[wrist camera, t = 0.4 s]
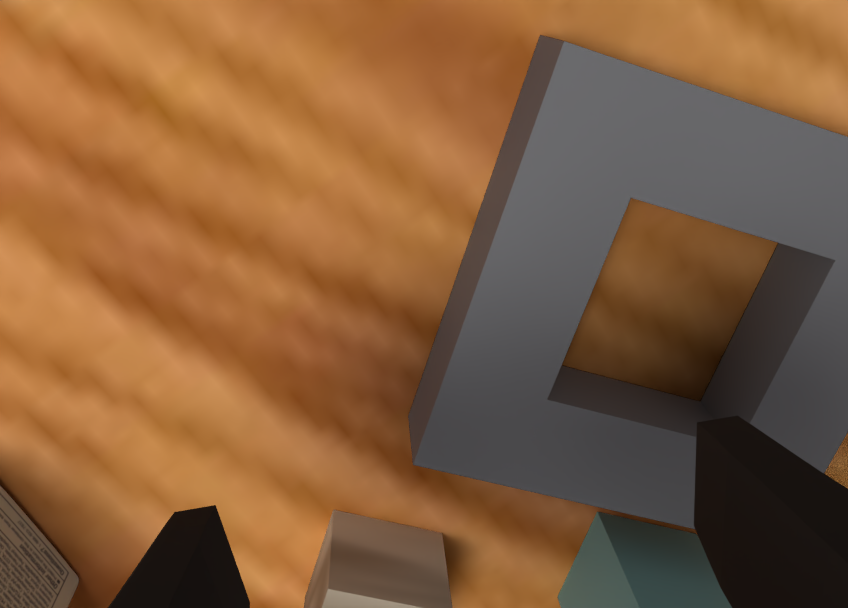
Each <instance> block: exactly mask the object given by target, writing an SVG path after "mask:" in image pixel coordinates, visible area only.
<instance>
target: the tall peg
mask: <svg viewBox="0 0 848 608" xmlns="http://www.w3.org/2000/svg"><path fill="white" fill-rule="evenodd" d="M558 600H559V603H560V606H561V608H732V607H731V605H730V603H729V602H728V600H727V598H726V596H725V595H724V593H723V591H722V589H721V588H720V585H719V583H718V581H717V579H716V576H715V574H714V572H713V570H712V567H711V565H710V563H709V561H708V558H707V556H706V553H705V551H704V549H703V546H702V544H701V541H700V539H699V537H698V536H697V534H694V533H689V532H685V531H681V530H676V529H672V528H667V527H663V526H659V525H654V524H650V523H645V522H641V521H637V520H632V519H628V518H623V517H619V516H615V515H610V514H606V513H601V512H597V513H596V515H595V518H594V520H593V522H592V524H591V526H590V528H589V530H588V533H587V535H586V537H585V539H584V541H583V543H582V545H581V548H580V550H579V552H578V554H577V556H576V558H575V560H574V563H573V565H572V567H571V569H570V571H569V573H568V575H567V578H566V580H565V582H564V584H563V586H562V588H561V590H560V593H559V595H558Z"/></svg>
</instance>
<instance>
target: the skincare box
mask: <svg viewBox="0 0 848 608" xmlns="http://www.w3.org/2000/svg"><path fill="white" fill-rule="evenodd" d="M78 583H79V578H78V576H77V575H76V573H75V572H74V571H73V570H72V569H71V568H70V566H69V565H68V564H67V562H66V561H65V560H64V559H63V557H62V556H61V555H60V554H59V553H58V552H57V550H56V549H55V548H54V547H53V545H52V544H51V543H50V542H49V541H48V540H47V538H46V537H45V536H44V535H43V534H42V533H41V532H40V531H39V529H38V528H37V527H36V526H35V525H34V523H33V522H32V521H31V520H30V519H29V518H28V516H27V515H26V514H25V513H24V512H23V511H22V510H21V508H20V507H19V506H18V505H17V504H16V503H15V501H14V500H13V499H12V498H11V497H10V496H9V495H8V494H7V492H6V491H5V490H4V489H3V488H2V487H1V486H0V608H68V605H69V603H70V601H71V599H72V597H73V595H74V592H75V590H76V588H77V586H78Z"/></svg>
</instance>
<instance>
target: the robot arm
mask: <svg viewBox="0 0 848 608" xmlns="http://www.w3.org/2000/svg"><path fill="white" fill-rule="evenodd" d="M694 527H695V529H696V532H697V534H698V537H699V539H700V541H701V544H702V546H703V549H704V551H705V553H706V556H707V558H708V561H709V563H710V565H711V567H712V570H713V572H714V574H715V576H716V579H717V581H718V583H719V585H720V588H721V589H722V591H723V593H724V595H725V596H726V598H727V600H728V602H729V603H730V605H731V607H732V608H848V489H847V488H845V487H844V486H842V485H841V484H839V483H838V482H836V481H834V480H833V479H831V478H830V477H828V476H827V475H825V474H824V473H822V472H821V471H819V470H818V469H816V468H815V467H813V466H812V465H810V464H809V463H807V462H806V461H804V460H803V459H801V458H800V457H798V456H797V455H795V454H794V453H792V452H791V451H789V450H788V449H787V448H785V447H784V446H782V445H781V444H779V443H778V442H776V441H775V440H773V439H772V438H770V437H769V436H767V435H766V434H765V433H763V432H762V431H760V430H759V429H757V428H756V427H754V426H753V425H751V424H750V423H748V422H747V421H745V420H744V419H742V418H740V417H739V416H732V417H726V418H720V419H714V420H708V421H702V422H697V435H696V467H695V499H694ZM108 608H250V601H249V599H248V596H247V593H246V590H245V587H244V585H243V582H242V579H241V576H240V573H239V570H238V568H237V565H236V562H235V559H234V556H233V553H232V551H231V548H230V545H229V542H228V539H227V536H226V534H225V531H224V528H223V525H222V522H221V520H220V517H219V514H218V511H217V508H216V505H214V506H208V507H202V508H197V509H191V510H185V511H179V512H174V514H173V515H172V516H171V518H170V519H169V520H168V522H167V523H166V525H165V526H164V527H163V529H162V530H161V532H160V533H159V535H158V536H157V538H156V539H155V540H154V542H153V543H152V545H151V546H150V548H149V549H148V551H147V552H146V554H145V555H144V557H143V558H142V560H141V561H140V563H139V564H138V565H137V567H136V568H135V570H134V571H133V573H132V574H131V576H130V577H129V579H128V580H127V581H126V583H125V584H124V586H123V587H122V589H121V590H120V592H119V593H118V594H117V596H116V597H115V599H114V600H113V601H112V603H111V604H110V606H109V607H108Z"/></svg>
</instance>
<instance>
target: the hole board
mask: <svg viewBox="0 0 848 608" xmlns="http://www.w3.org/2000/svg"><path fill="white" fill-rule="evenodd" d="M631 198H634V199H637V200H640V201H643V202H647V203H650V204H653V205H657V206H660V207H663V208H666V209H670V210H673V211H676V212H679V213H683V214H686V215H689V216H693V217H696V218H699V219H702V220H706V221H709V222H712V223H715V224H719V225H722V226H725V227H729V228H732V229H735V230H738V231H742V232H745V233H748V234H751V235H755V236H758V237H761V238H765V239H768V240H771V241H774V242H778V245H777V247H776V249H775V251H774V253H773V255H772V257H771V259H770V261H769V264H768V266H767V268H766V270H765V272H764V274H763V276H762V278H761V280H760V282H759V284H758V286H757V288H756V290H755V292H754V294H753V296H752V298H751V300H750V302H749V304H748V306H747V308H746V310H745V312H744V314H743V316H742V318H741V320H740V322H739V324H738V326H737V328H736V330H735V333H734V335H733V337H732V339H731V341H730V343H729V345H728V347H727V349H726V351H725V353H724V355H723V357H722V359H721V361H720V363H719V365H718V367H717V369H716V371H715V373H714V375H713V377H712V379H711V381H710V383H709V385H708V387H707V389H706V391H705V393H704V395H703V397H702V400H701V402H700V401H696V400H692V399H688V398H684V397H680V396H677V395H673V394H669V393H665V392H661V391H657V390H654V389H650V388H646V387H642V386H638V385H634V384H631V383H627V382H623V381H619V380H615V379H611V378H607V377H604V376H600V375H596V374H592V373H588V372H584V371H581V370H577V369H573V368H569V367H565V366H561V365H562V363H563V361H564V358H565V356H566V353H567V351H568V348H569V346H570V344H571V341H572V339H573V336H574V334H575V332H576V329H577V327H578V324H579V322H580V319H581V317H582V315H583V312H584V310H585V307H586V305H587V303H588V300H589V298H590V295H591V293H592V290H593V288H594V286H595V283H596V281H597V278H598V276H599V274H600V271H601V269H602V266H603V264H604V261H605V259H606V257H607V254H608V252H609V249H610V247H611V245H612V242H613V240H614V237H615V235H616V232H617V230H618V228H619V225H620V223H621V220H622V218H623V216H624V213H625V211H626V208H627V206H628V203H629V201H630V199H631ZM732 416H739V417H740V418H742V419H744V420H745V421H747V422H748V423H750V424H751V425H753V426H754V427H756V428H757V429H759V430H760V431H762V432H763V433H765V434H766V435H767V436H769V437H770V438H772V439H773V440H775V441H776V442H778V443H779V444H781V445H782V446H784V447H785V448H787V449H788V450H789V451H791V452H792V453H794V454H795V455H797V456H798V457H800V458H801V459H803V460H804V461H806V462H807V463H809V464H810V465H812V466H813V467H815V468H816V469H818V470H819V471H821V472H822V473H824V472H825V471H826V469H827V467H828V466H829V464H830V462H831V460H832V459H833V457H834V455H835V453H836V452H837V450H838V448H839V446H840V445H841V443H842V441H843V440H844V438H845V436H846V434H847V433H848V137H846V136H843V135H840V134H837V133H834V132H831V131H828V130H825V129H823V128H820V127H817V126H814V125H811V124H808V123H805V122H802V121H799V120H796V119H793V118H790V117H787V116H784V115H781V114H778V113H775V112H772V111H769V110H766V109H763V108H760V107H757V106H754V105H751V104H749V103H746V102H743V101H740V100H737V99H734V98H731V97H728V96H725V95H722V94H719V93H716V92H713V91H710V90H707V89H704V88H701V87H698V86H695V85H692V84H689V83H686V82H683V81H680V80H677V79H675V78H672V77H669V76H666V75H663V74H660V73H657V72H654V71H651V70H648V69H645V68H642V67H639V66H636V65H633V64H630V63H627V62H624V61H621V60H618V59H615V58H612V57H609V56H606V55H603V54H601V53H598V52H595V51H592V50H589V49H586V48H583V47H580V46H577V45H574V44H571V43H568V42H565V41H561V40H558V39H554V38H550V37H546V36H542V35H540V37H539V40H538V43H537V46H536V49H535V51H534V54H533V57H532V60H531V63H530V66H529V69H528V72H527V75H526V77H525V80H524V83H523V86H522V89H521V92H520V95H519V98H518V101H517V103H516V106H515V109H514V112H513V115H512V118H511V121H510V124H509V127H508V129H507V132H506V135H505V138H504V141H503V144H502V147H501V150H500V153H499V156H498V158H497V161H496V164H495V167H494V170H493V173H492V176H491V179H490V182H489V184H488V187H487V190H486V193H485V196H484V199H483V202H482V205H481V208H480V210H479V213H478V216H477V219H476V222H475V225H474V228H473V231H472V234H471V237H470V239H469V242H468V245H467V248H466V251H465V254H464V257H463V260H462V263H461V265H460V268H459V271H458V274H457V277H456V280H455V283H454V286H453V289H452V291H451V294H450V297H449V300H448V303H447V306H446V309H445V312H444V315H443V317H442V320H441V323H440V326H439V329H438V332H437V335H436V338H435V341H434V344H433V346H432V349H431V352H430V355H429V358H428V361H427V364H426V367H425V370H424V372H423V375H422V378H421V381H420V384H419V387H418V390H417V393H416V396H415V398H414V401H413V404H412V407H411V410H410V413H409V416H408V418H409V428H410V439H411V449H412V460H413V465H416V466H421V467H425V468H430V469H434V470H438V471H443V472H447V473H451V474H456V475H460V476H465V477H469V478H473V479H478V480H482V481H486V482H491V483H495V484H500V485H504V486H508V487H513V488H517V489H521V490H526V491H530V492H535V493H539V494H543V495H548V496H552V497H556V498H561V499H565V500H570V501H574V502H578V503H583V504H587V505H592V506H596V507H600V508H605V509H609V510H613V511H618V512H622V513H627V514H631V515H635V516H640V517H644V518H648V519H653V520H657V521H662V522H666V523H670V524H675V525H679V526H683V527H688V528H692V529H695V527H694V499H695V467H696V435H697V422H702V421H708V420H714V419H720V418H726V417H732Z"/></svg>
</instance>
